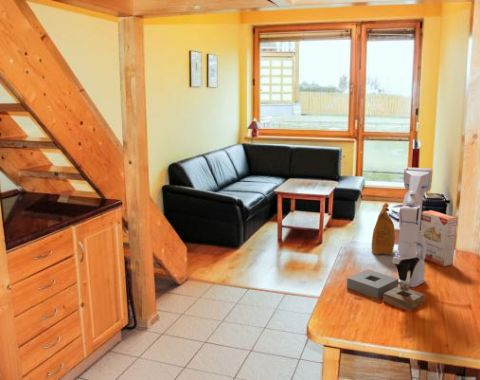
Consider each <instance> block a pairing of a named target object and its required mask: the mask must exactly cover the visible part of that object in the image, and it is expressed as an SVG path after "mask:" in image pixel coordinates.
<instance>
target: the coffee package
mask: <svg viewBox="0 0 480 380" xmlns="http://www.w3.org/2000/svg"><path fill="white" fill-rule="evenodd" d="M389 206H390V205H389V204H388V202H384V204H383V205H382V208H381V210H380V212H379V214H378V216H377V220H376V223H375V225H374V228H373V231H372V237H371V238H372V239H371V252H372V253H373V255H388V256H389V255H393V252H394V249H395V241H396V240H395V239H396V234H395V224H394V222H393V220H392V218H391V217H390V215H389V214H388V212H390V209H389Z"/></svg>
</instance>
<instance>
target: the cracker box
mask: <svg viewBox="0 0 480 380" xmlns="http://www.w3.org/2000/svg"><path fill="white" fill-rule="evenodd" d="M457 221H458V218H457V216H456V217H455V216H452V215H448V214H445V213H442V212H439V211H435V210H431V209H429V210H423V211H421V221H420V232H419V235H420V236H421V237H422V238H423V239H425V241H426V255H425V260H427V261H429V262H431V263H434V264H435V265H438V266H441V267H442V268H443V267H448V266H452V265H453V264H454V255H455V245H456V232H457ZM419 244H421V243H419Z"/></svg>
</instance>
